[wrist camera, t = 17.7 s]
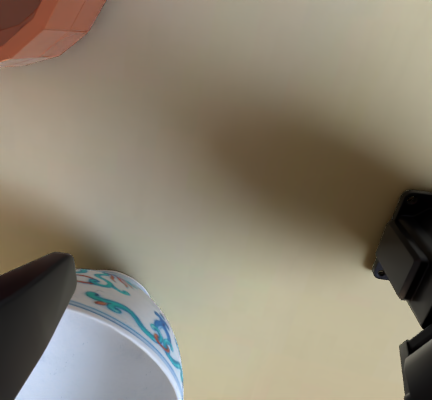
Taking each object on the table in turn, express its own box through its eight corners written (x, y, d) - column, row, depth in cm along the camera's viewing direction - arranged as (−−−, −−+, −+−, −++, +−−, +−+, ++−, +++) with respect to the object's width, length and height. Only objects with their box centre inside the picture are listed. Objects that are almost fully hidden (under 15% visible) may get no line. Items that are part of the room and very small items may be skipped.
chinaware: (238, 287, 24) (229, 386, 17) (155, 382, 31) (125, 481, 24) (57, 187, 22) (-35, 252, 15) (11, 312, 29) (-68, 396, 22)
